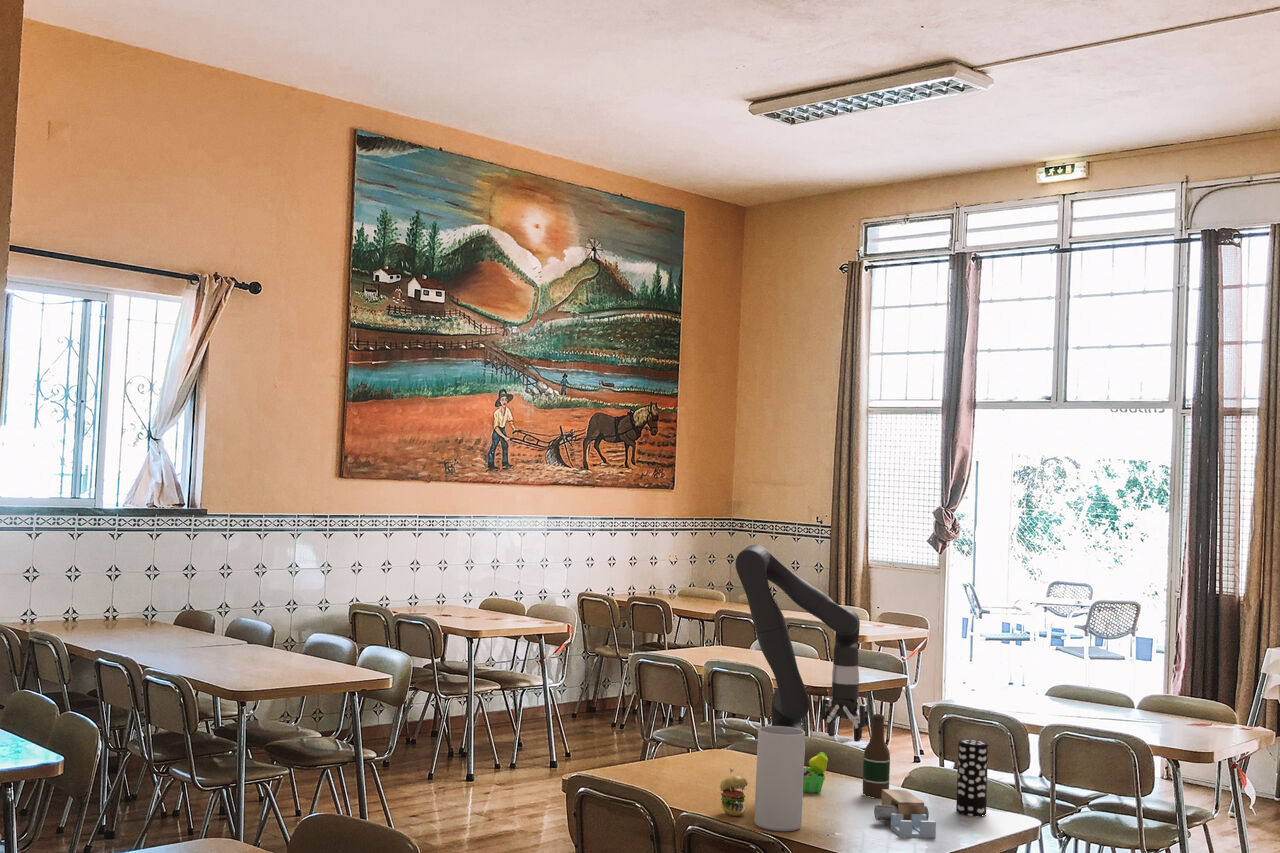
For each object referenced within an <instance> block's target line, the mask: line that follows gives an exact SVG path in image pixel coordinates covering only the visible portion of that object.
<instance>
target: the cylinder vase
mask: <svg viewBox="0 0 1280 853" xmlns="http://www.w3.org/2000/svg"><path fill="white" fill-rule="evenodd" d="M803 730H804V729H803ZM803 730H800V729H796V728H791V727H782V726H772V725H767V726H761V727H758V729H757V746H756V747H757V748H756V749H757V750H756V774H755V794H754V819H753V822H754V824H755V825H756V826H757V827H759V828H760V829H764V830H767V831H771V832H772V831H774V832H793V831H797V830H799V829H801V827H802V824H803V822H802V818H803V803H802V798H804V792H803V773H804V768H805V754H804V748H806V731H803Z"/></svg>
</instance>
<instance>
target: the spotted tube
mask: <svg viewBox="0 0 1280 853" xmlns="http://www.w3.org/2000/svg"><path fill="white" fill-rule="evenodd" d="M957 742H958V744H957V745H958V746H957V768H956V770H957V772H956V773H957V775H956V777H957V778H956V805H955V806H956V809H955V810H956V811H957V812H956V813H958V814H960V815H963V814H964V815H963V816H967V815H969V816H968V817H976V816H980V817H983V816H982V815H985V814H986V815H987V802H988V801H987V800H988V799H987V798H988V797H987V796H988V795H987V794H988V768H989V767H988V766H989V765H988V764H989V762H988V760H989V743H988V742H986V741H983V740H978V739H977V740H976V739H970V738H969V739H968V738H967V739H966V738H964V739H959V740H957ZM986 815H985V816H986Z"/></svg>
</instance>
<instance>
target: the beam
mask: <svg viewBox="0 0 1280 853" xmlns="http://www.w3.org/2000/svg"><path fill="white" fill-rule="evenodd" d="M880 805H898V814H903V820H911V814H924V806H925V802H924V801H923V800H922V799H919V798H918V797H917V796H916V795H915V794H912V793H911V792H909V791H908V790H907V789H890V788H889V789H882V798H881V804H880Z"/></svg>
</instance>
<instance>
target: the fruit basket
mask: <svg viewBox="0 0 1280 853" xmlns="http://www.w3.org/2000/svg"><path fill="white" fill-rule="evenodd" d="M827 756H828V755H827V754H826V753H825V752H823V751H821V752H819V753H817V755H815V756H813V757H811V758H810V759H809V761H808V765H809V766H806V767H804V779H803V793H809V792H818V793H817V794H821V791H822V788H823V784H824V781H825V778H826V775H825V774H824V773H825V772H826V771H827V767H828V765H827V764H828V760H829V759H828V757H827Z"/></svg>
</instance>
